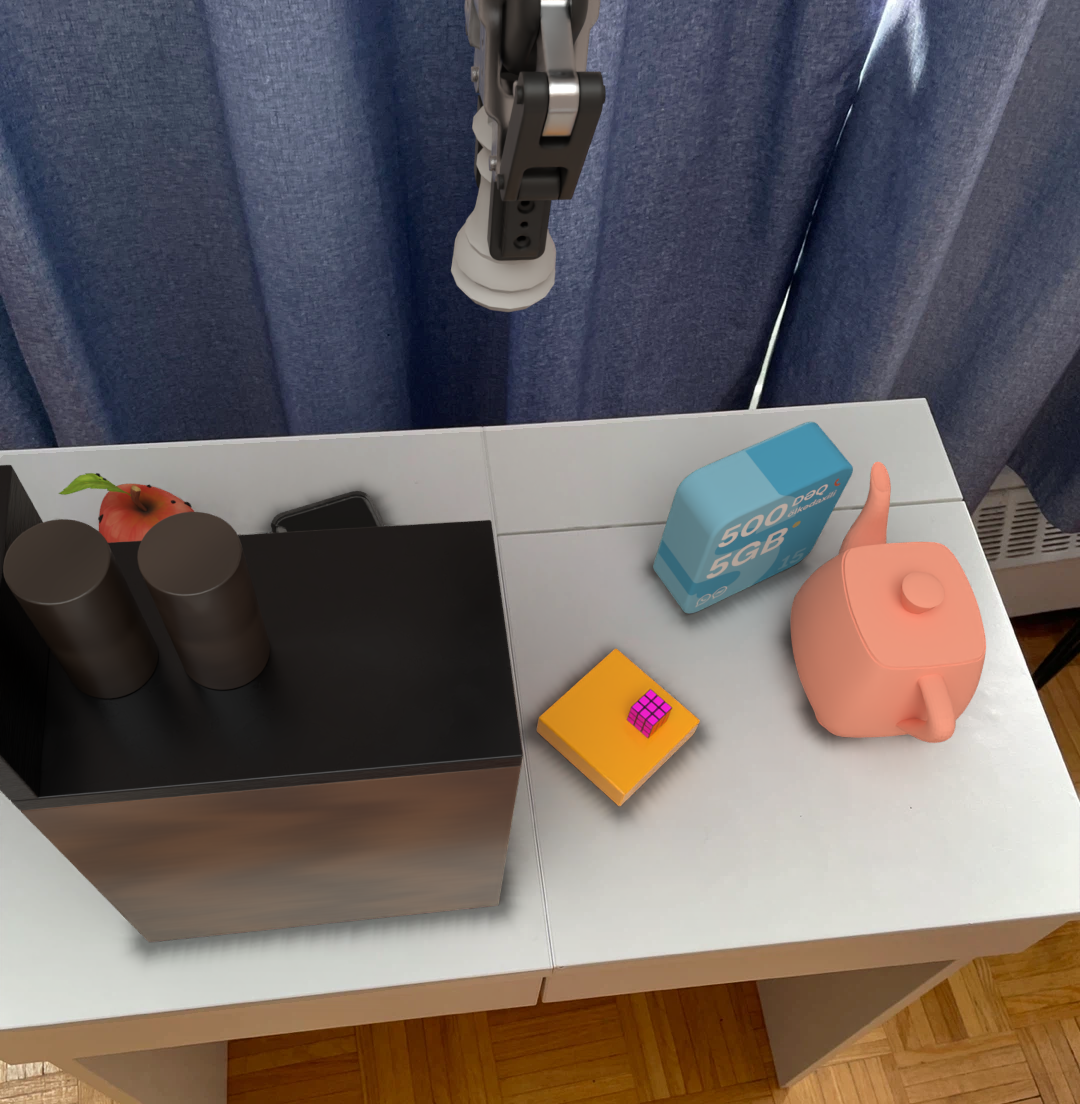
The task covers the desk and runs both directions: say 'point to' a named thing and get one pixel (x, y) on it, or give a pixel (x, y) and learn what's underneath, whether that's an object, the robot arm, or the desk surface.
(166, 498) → the apple
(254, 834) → the wooden panel
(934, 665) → the teapot
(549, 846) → the desk surface
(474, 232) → the rook chess piece
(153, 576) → the dark brown cylinder
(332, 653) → the black flat slab
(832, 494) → the data package
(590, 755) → the orange square tile
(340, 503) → the phone
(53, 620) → the dark brown cylinder
